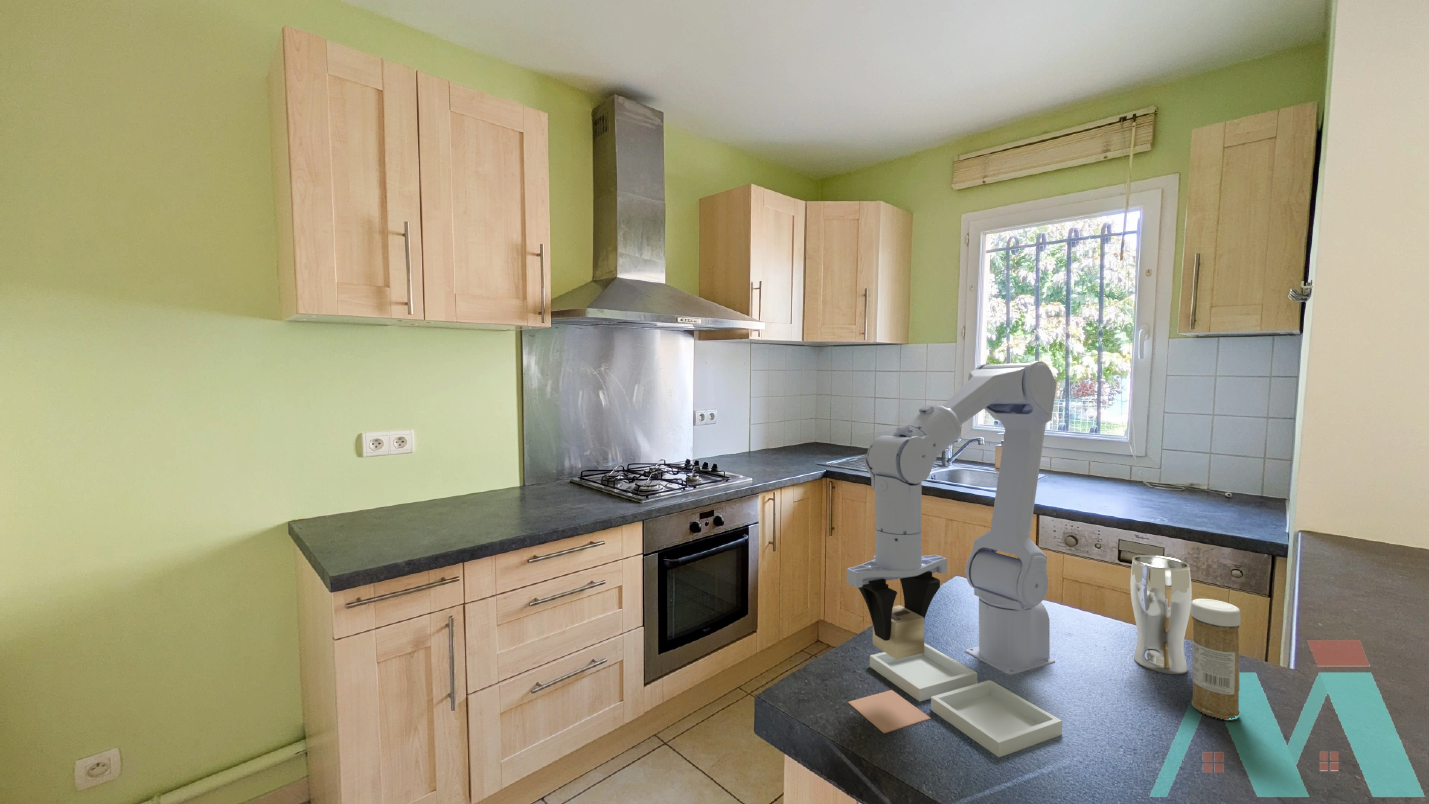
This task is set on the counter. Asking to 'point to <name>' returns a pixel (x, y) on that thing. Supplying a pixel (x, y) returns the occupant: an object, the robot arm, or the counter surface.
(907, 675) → the bin near arm
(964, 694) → the bin near camera
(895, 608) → the letter cube
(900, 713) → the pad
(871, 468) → the robot arm
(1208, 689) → the sprinkles bottle
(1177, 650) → the beer glass
